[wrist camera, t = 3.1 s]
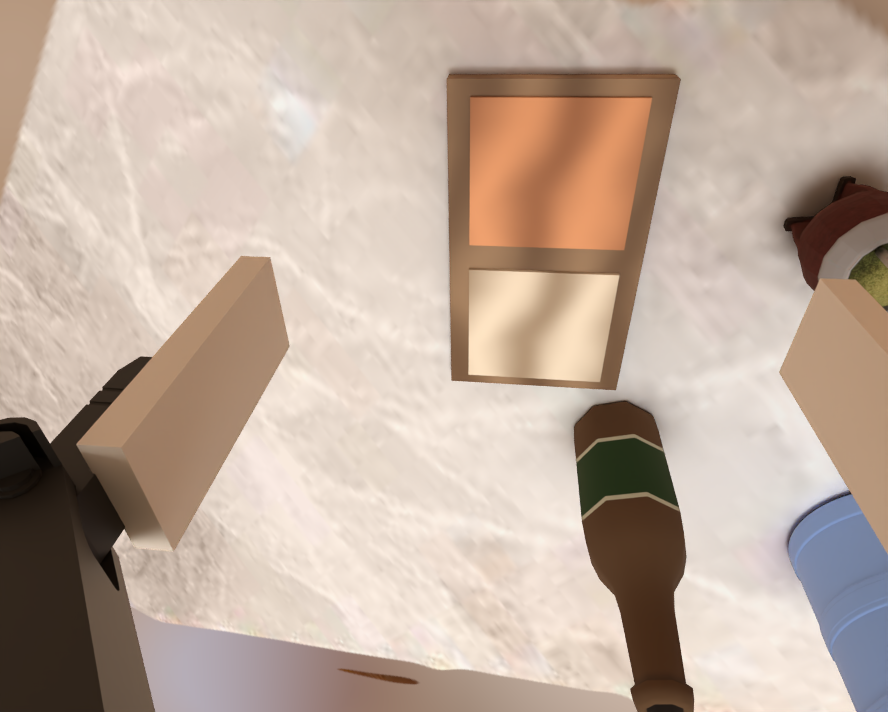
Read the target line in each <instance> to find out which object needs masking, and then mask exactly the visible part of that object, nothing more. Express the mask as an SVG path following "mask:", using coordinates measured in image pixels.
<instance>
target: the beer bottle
mask: <svg viewBox="0 0 888 712" xmlns="http://www.w3.org/2000/svg"><path fill="white" fill-rule="evenodd" d="M574 443H575V453H576V463H577V474H578V484H579V495H580V505H581V516H582V524H583V529H584V534H585V540H586V544H587V548H588V552H589V555H590V559H591V563H592V565H593V567H594V569H595V571H596V573H597V575H598V577H599V579H600V580H601V582H602V583H603V584H604V585H605V586H606V587H607V588H608V589H609V590H610V591H611V592H612V593H613V594H614V595H615V597H616V600H617V603H618V607H619V610H620V613H621V618H622V623H623V628H624V633H625V638H626V643H627V648H628V653H629V657H630V662H631V667H632V672H633V677H634V682H635V685H634V686H633V687H632V688H631V689H630V690H631V694H632V698H633V701H634V704H635V706H636V709H637V711H638V712H694V695H693V688H692V687H690V686H689V685H687V684H686V681H685V674H684V668H683V662H682V655H681V649H680V642H679V636H678V630H677V623H676V617H675V609H674V591H675V589H676V588H677V586H678V584H679V582H680V580H681V578H682V577H683V575H684V569H685V563H686V548H685V539H684V531H683V525H682V519H681V514H680V509H679V506H678V502H677V498H676V494H675V491H674V487H673V483H672V480H671V476H670V472H669V468H668V465H667V461H666V457H665V454H664V450H663V446H662V442H661V439H660V435H659V431H658V428H657V425H656V423H655V420H654V417H653V416H652V415H651V414H649V413H647V412H645V411H644V410H642V409H640V408H638V407H636V406H634V405H632V404H630V403H628V402H626V401H623V402H617V403H610V404H603V405H596V406H593V407H592V408H591V409H590V410H589V411H588V412H587V414H586V415H585V416H584V417H583V418H582V419H581V420H580V421H579V422H578V423H577V424H576V425H575V427H574Z"/></svg>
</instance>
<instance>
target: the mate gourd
mask: <svg viewBox="0 0 888 712" xmlns="http://www.w3.org/2000/svg"><path fill="white" fill-rule="evenodd" d="M855 181H856V178H853V177H851V176H849V177H842V178H840V180H839V183H838V186H837V189H836V192H835V195H834V199H833V202H832V203H831V204H830V205H828V206H827V207H826V208H824V209H823V210H821V211H820V212H819V213H817V214H816V215H815V216H814V217H794V218H787V219H786V220H785V223H784V228H785V231H792V234H793V239H794V242H795V244H796V246H797V248H798V256H799V260H800V263H801V268H802V272H803V277H804V279H805V280H806V282H807V284H808V285H809V286H810V287H811V288H812V289H813V290H814V291H815V289H816V287H817V284H818V282H819V280H820V278H824V279H850V280H856V281H857V282H858V283H859V284H860V285H861V286H862V287H863V288H864V289H865V290H866V291H867V292H868V293H869V294H870V295H871V296H872V297H873V298H874V299H875V300H876V301H877V302H878V303H879V304H880V305H881V306H882V307H883V308H884V309H885V310H886V311H887V312H888V192H884V191H880V190H877V189H875V188H873V187H871V186H867V185H859V184H855Z"/></svg>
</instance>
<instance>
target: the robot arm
mask: <svg viewBox="0 0 888 712" xmlns="http://www.w3.org/2000/svg"><path fill="white" fill-rule="evenodd" d="M288 348H289V341H288V336H287V332H286V327H285V323H284V318H283V314H282V309H281V304H280V300H279V295H278V291H277V286H276V281H275V277H274V272H273V268H272V263H271V259H270V257H249V256H241V257H240V258H239V259H238V260H237V261H236V263H235V264H234V265H233V266H232V267H231V268H230V269H229V271H228V272H227V273H226V274H225V275H224V276H223V277H222V279H221V280H220V281H219V282H218V283H217V284H216V285H215V287H214V288H213V289H212V290H211V291H210V292H209V293H208V295H207V296H206V297H205V298H204V299H203V300H202V301H201V303H200V304H199V305H198V306H197V307H196V308H195V309H194V310H193V312H192V313H191V314H190V315H189V316H188V317H187V318H186V320H185V321H184V322H183V323H182V324H181V325H180V326H179V328H178V329H177V330H176V331H175V332H174V333H173V334H172V336H171V337H170V338H169V339H168V340H167V341H166V342H165V344H164V345H163V346H162V347H161V348H160V349H159V350H158V352H157V353H156V354H155V355H154V356H153V357H139V358H137V359H136V360H134V361H133V362H131V363H129V364H128V365H126V366H125V367H123V368H121V369H120V370H118V371H117V372H116V373H115V374H114V376H113V377H112V378H111V379H110V380H109V381H108V382H107V383H106V384H105V385H104V386H103V387H102V388H103V390H102V391H99V392H98V393H97V394H96V395H95V396H94V397H93V398H92V399H91V400H90V404H89V405H86V406H85V407H84V408H83V409H82V410H81V411H80V412H79V413H78V414H77V415H76V416H75V417H74V419H73V420H72V421H71V422H70V423H69V424H68V425H67V426H66V427H65V428H64V429H63V430H62V431H61V433H60V434H59V435H58V436H57V437H56V438H55V439H54V440H53V441H52V442H51V443H49V442H48V440H47V438H46V437H45V435H44V433H43V432H42V430H41V428H40V427H39V425H38V424H37V422H36V421H34V420H31V419H28V418H25V417H23V418H6V419H2V420H0V712H155V709H154V705H153V701H152V697H151V692H150V688H149V684H148V680H147V676H146V671H145V667H144V663H143V658H142V654H141V650H140V646H139V642H138V637H137V633H136V629H135V625H134V621H133V616H132V612H131V608H130V603H129V599H128V595H127V591H126V586H125V582H124V578H123V574H122V569H121V565H120V561H119V557H118V555H117V553H116V552H115V550H114V548H113V547H112V546H113V545H114V543H115V542H116V540H117V539H118V537H119V536H120V534H121V533H122V531H123V530H124V529H125V531H126V533H127V535H128V536H129V538H130V540H131V542H132V543H133V545H134V547H135V548H141V549H152V550H163V551H174V550H175V548H176V546H177V545H178V543H179V541H180V539H181V538H182V536H183V534H184V532H185V530H186V529H187V527H188V525H189V523H190V522H191V520H192V518H193V516H194V515H195V513H196V511H197V509H198V507H199V506H200V504H201V502H202V500H203V499H204V497H205V495H206V493H207V492H208V490H209V488H210V486H211V484H212V483H213V481H214V479H215V477H216V476H217V474H218V472H219V470H220V469H221V467H222V465H223V463H224V461H225V460H226V458H227V456H228V454H229V453H230V451H231V449H232V447H233V446H234V444H235V442H236V440H237V438H238V437H239V435H240V433H241V431H242V430H243V428H244V426H245V424H246V423H247V421H248V419H249V417H250V415H251V414H252V412H253V410H254V408H255V407H256V405H257V403H258V401H259V399H260V398H261V396H262V394H263V392H264V391H265V389H266V387H267V385H268V384H269V382H270V380H271V378H272V376H273V375H274V373H275V371H276V369H277V368H278V366H279V364H280V362H281V361H282V359H283V357H284V355H285V353H286V352H287V350H288ZM779 373H780V375H781V376H782V378H783V380H784V381H785V383H786V385H787V386H788V388H789V390H790V391H791V393H792V395H793V396H794V398H795V400H796V401H797V403H798V405H799V406H800V408H801V410H802V412H803V413H804V415H805V417H806V418H807V420H808V422H809V423H810V425H811V427H812V428H813V430H814V432H815V433H816V435H817V437H818V438H819V440H820V442H821V443H822V445H823V447H824V448H825V450H826V452H827V453H828V455H829V457H830V458H831V460H832V462H833V463H834V465H835V467H836V468H837V470H838V472H839V474H840V475H841V477H842V479H843V480H844V482H845V484H846V485H847V487H848V489H849V490H850V492H851V494H852V495H853V497H854V499H855V500H856V502H857V504H858V505H859V507H860V509H861V510H862V512H863V514H864V515H865V517H866V519H867V520H868V522H869V524H870V525H871V527H872V529H873V531H874V532H875V534H876V536H877V537H878V539H879V541H880V542H881V544H882V546H883V547H884V549H885V551H886V552H887V554H888V312H887V311H886V310H885V309H884V308H883V307H882V306H881V305H880V304H879V303H878V302H877V301H876V300H875V299H874V298H873V297H872V296H871V295H870V294H869V293H868V292H867V291H866V290H865V289H864V288H863V287H862V286H861V285H860V284H859V283H858V282H857V281H856V280H850V279H824V278H820V280H819V282H818V284H817V287H816V289H815V291H814V294H813V296H812V298H811V301H810V303H809V305H808V307H807V310H806V312H805V314H804V317H803V319H802V321H801V323H800V326H799V328H798V330H797V333H796V335H795V337H794V340H793V342H792V344H791V346H790V349H789V351H788V353H787V356H786V358H785V360H784V362H783V365H782V367H781V369H780V372H779Z"/></svg>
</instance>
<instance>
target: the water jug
mask: <svg viewBox="0 0 888 712" xmlns="http://www.w3.org/2000/svg"><path fill="white" fill-rule="evenodd" d="M788 554H789V558H790V561H791V564H792V566H793V568H794V571H795V573H796V575H797V577H798V578H799V580H800V581H801V583H802V585H803V588H804V590H805V592H806V595H807V597H808V599H809V602H810V604H811V606H812V609H813V611H814V613H815V616H816V618H817V620H818V623H819V625H820V630H821V633H822V636H823V639H824V641H825V644H826V646H827V648H828V651H829V653H830V655H831V657H832V658H833V660H834V661H835V663H836V665H837V667H838V669H839V672H840V674H841V676H842V679H843V681H844V683H845V686H846V688H847V690H848V693H849V695H850V697H851V700H852V702H853V704H854V707H855V709H856V711H857V712H888V554H887V552H886V551H885V549H884V547H883V546H882V544H881V542H880V541H879V539H878V537H877V536H876V534H875V532H874V531H873V529H872V527H871V525H870V524H869V522H868V520H867V519H866V517H865V515H864V514H863V512H862V510H861V509H860V507H859V505H858V504H857V502H856V500H855V499H854V497H853V495H852V494H850V495H847V496H844V497H841V498H838V499H836V500H833V501H831V502H829V503H827V504H825V505H823V506H821V507H819V508H818V509H816V510H815V511H813V512H812V513H810V514H809V515H808V516H807V517H805V518H804V519H803V520H802V521H801V522H800V523H799V524H798V526H797V527H796V528H795V530H794V531H793V533H792V535H791V538H790V541H789V545H788Z"/></svg>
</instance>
